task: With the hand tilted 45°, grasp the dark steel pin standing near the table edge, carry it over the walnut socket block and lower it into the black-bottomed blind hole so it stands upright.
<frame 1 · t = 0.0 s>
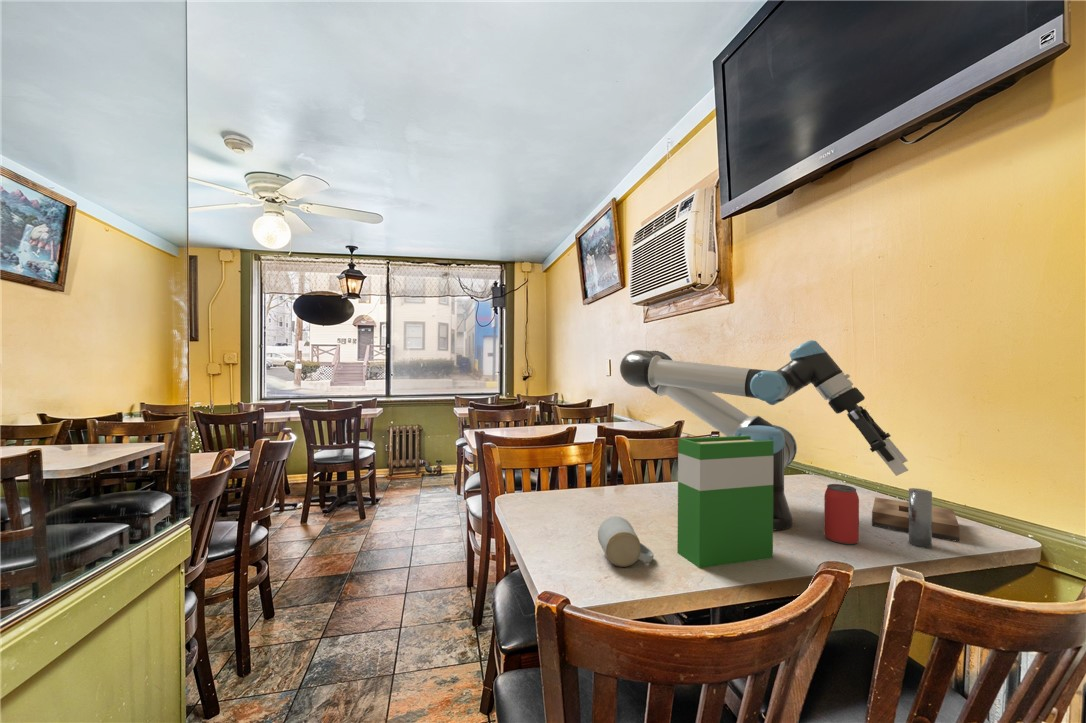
hand: (902, 468, 109), 15 cm above the table, tool tilted 35°, fingers open, 13 cm apart
cereal box: (724, 556, 94), on the table
socket block: (913, 524, 114), on the table
ceramic mug: (625, 560, 92), on the table
steel pin: (920, 544, 101), on the table
beer can: (841, 540, 103), on the table
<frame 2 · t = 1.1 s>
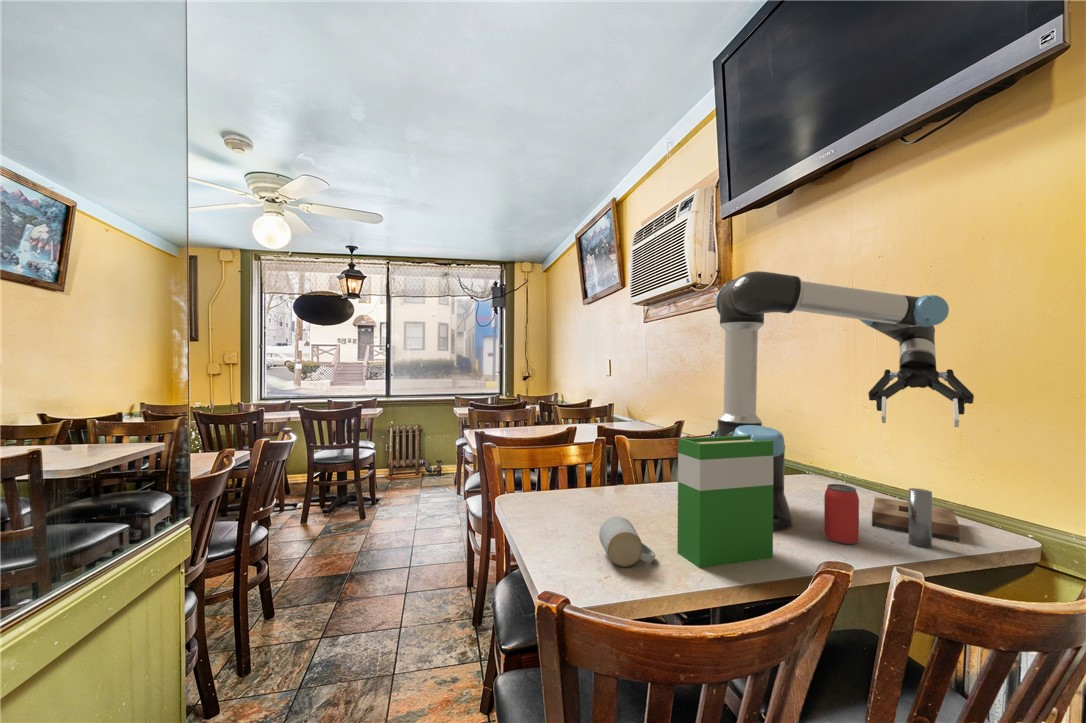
hand: (918, 421, 110), 26 cm above the table, tool tilted 45°, fingers open, 13 cm apart
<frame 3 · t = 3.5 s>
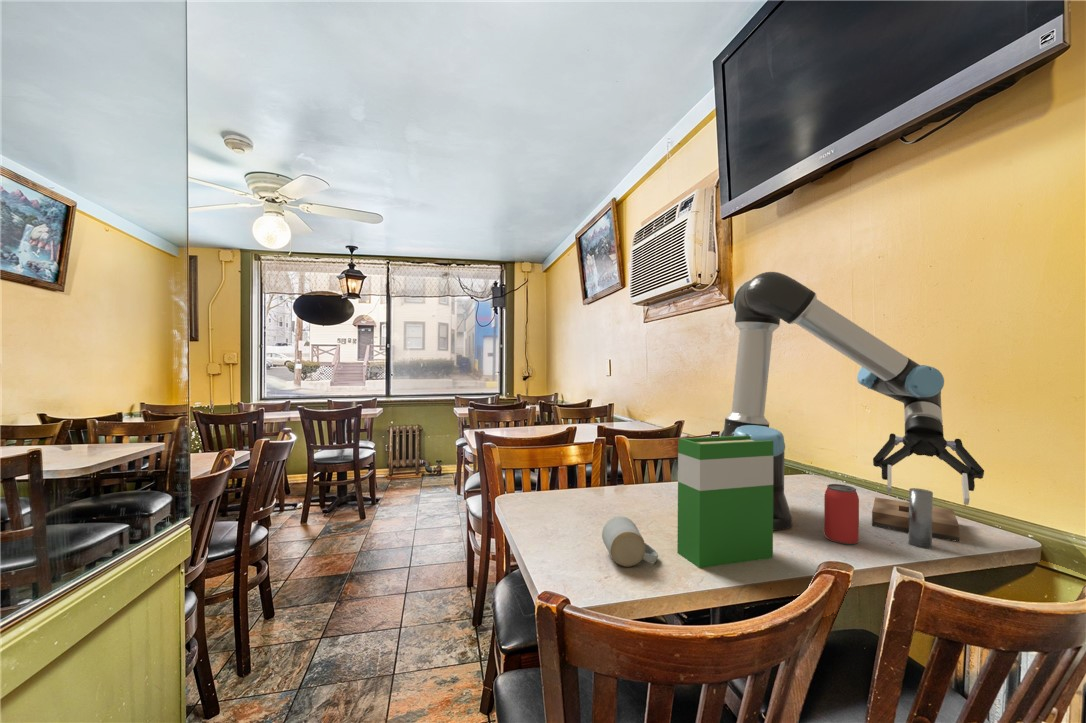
hand: (926, 496, 104), 10 cm above the table, tool tilted 45°, fingers open, 13 cm apart
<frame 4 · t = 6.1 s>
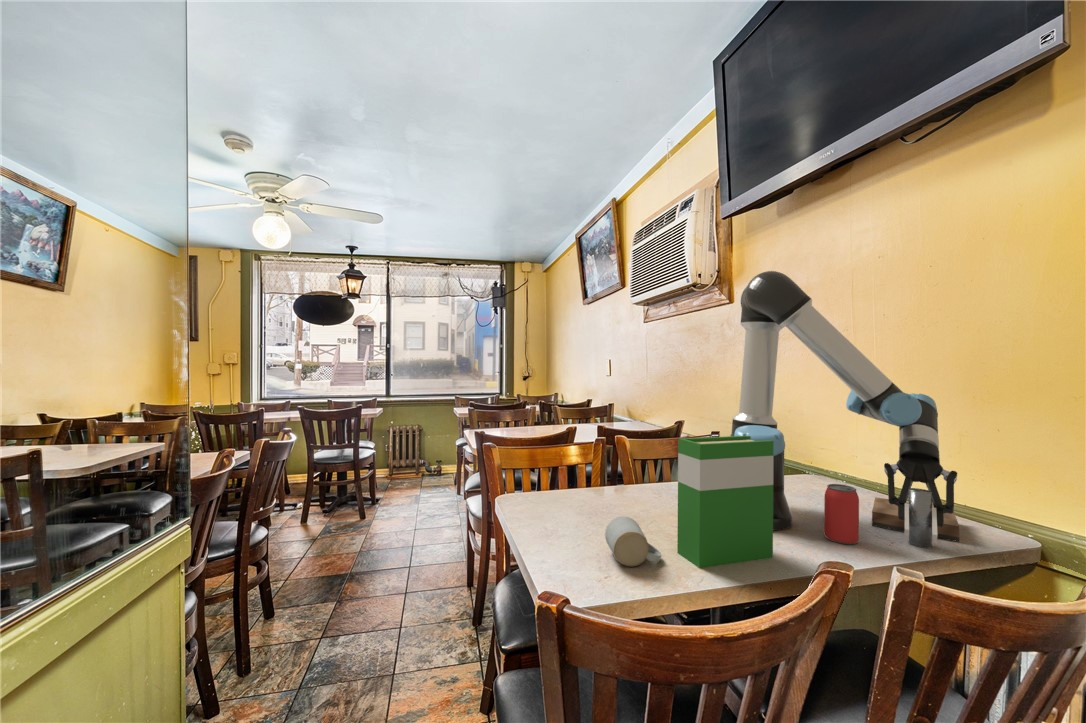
hand: (920, 535, 98), 3 cm above the table, tool tilted 45°, fingers closed on steel pin, 4 cm apart
steel pin: (920, 544, 101), on the table, touching gripper
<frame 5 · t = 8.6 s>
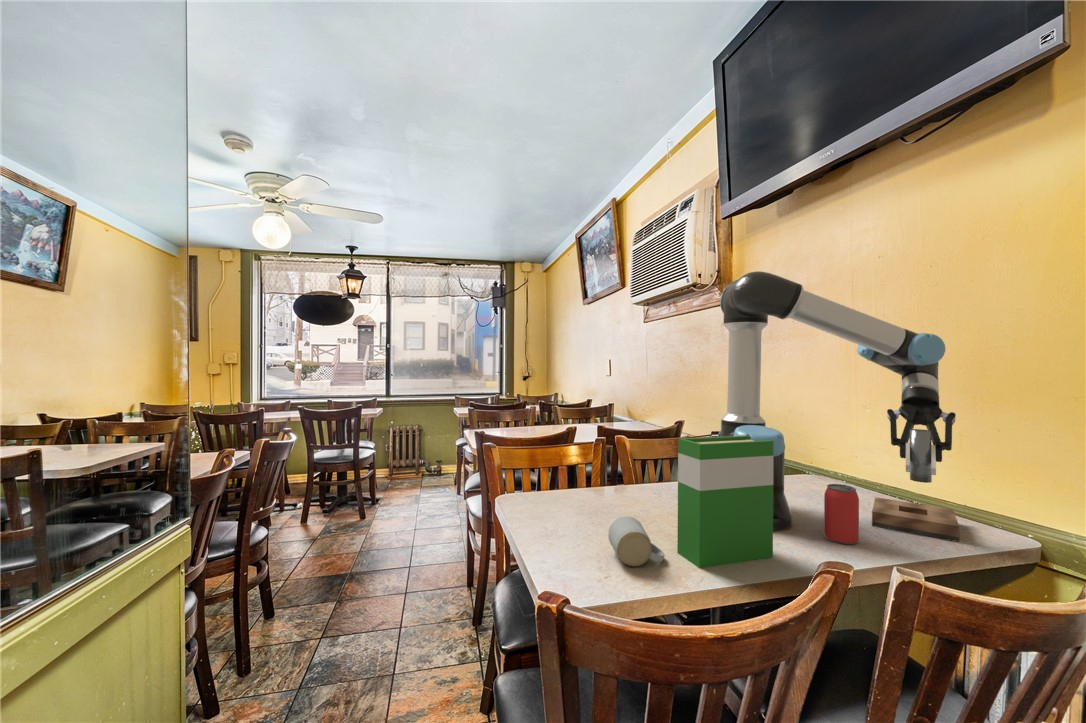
hand: (920, 470, 105), 16 cm above the table, tool tilted 45°, fingers closed on steel pin, 4 cm apart
steel pin: (920, 480, 108), point 12 cm above the table, touching gripper
when the fingers open (5 cm above the table, at t = 11.0 s): steel pin stays where it is, resting on socket block.
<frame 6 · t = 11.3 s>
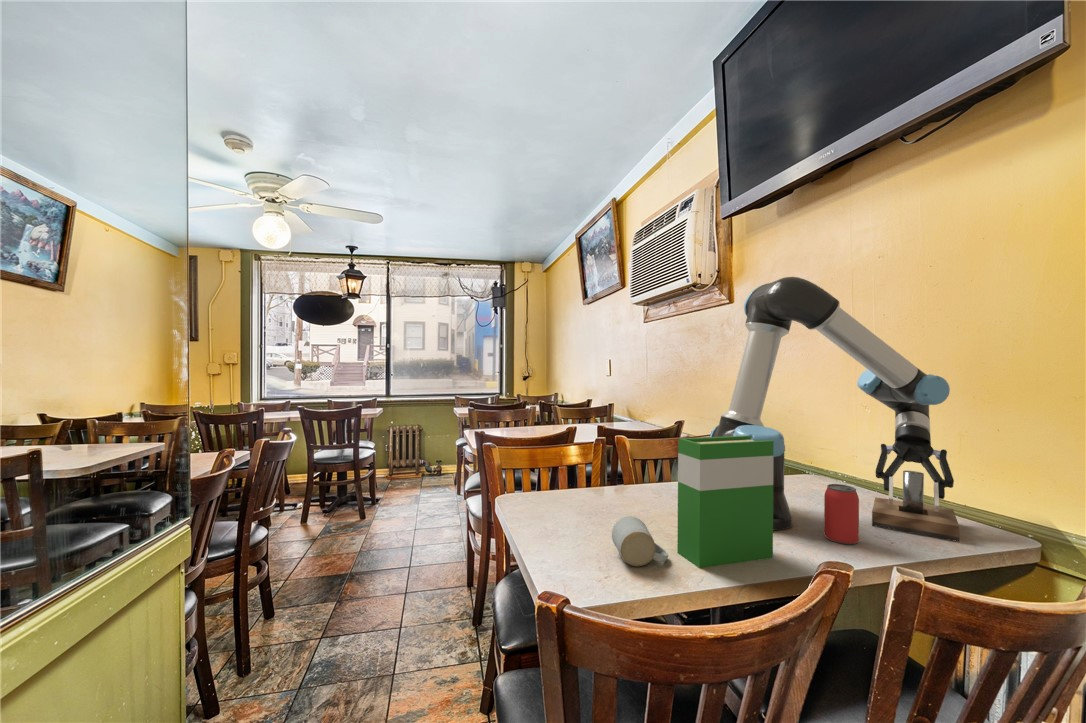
hand: (913, 504, 111), 6 cm above the table, tool tilted 45°, fingers open, 8 cm apart
steel pin: (912, 520, 114), point 1 cm above the table, touching socket block
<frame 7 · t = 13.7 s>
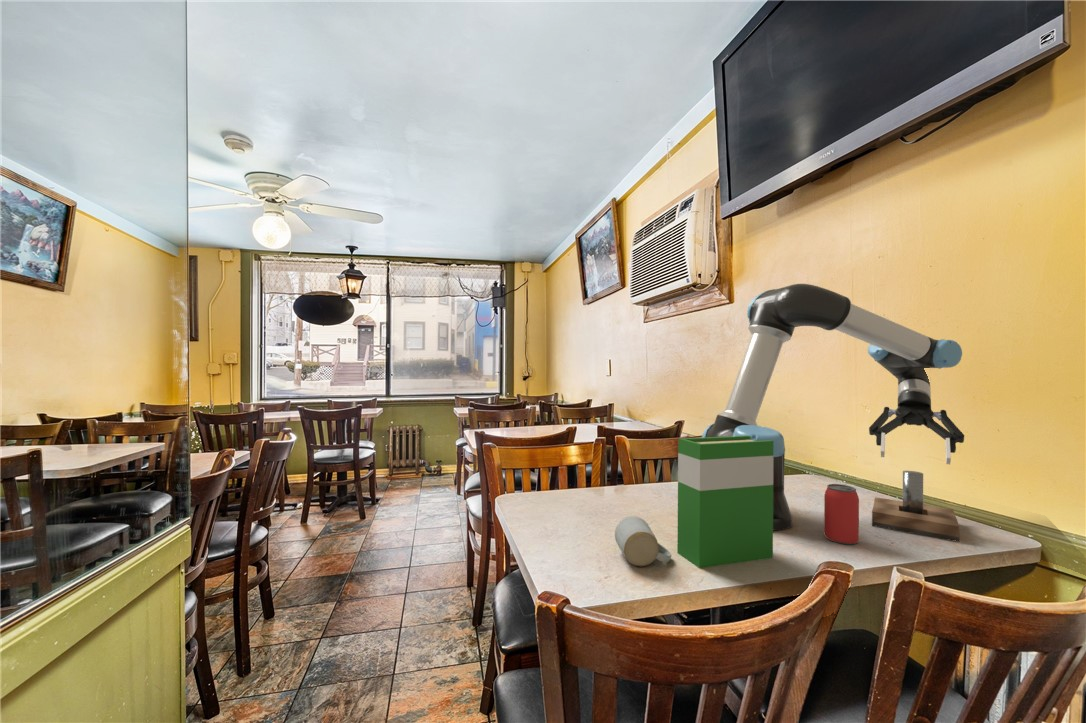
hand: (914, 457, 121), 15 cm above the table, tool tilted 45°, fingers open, 13 cm apart
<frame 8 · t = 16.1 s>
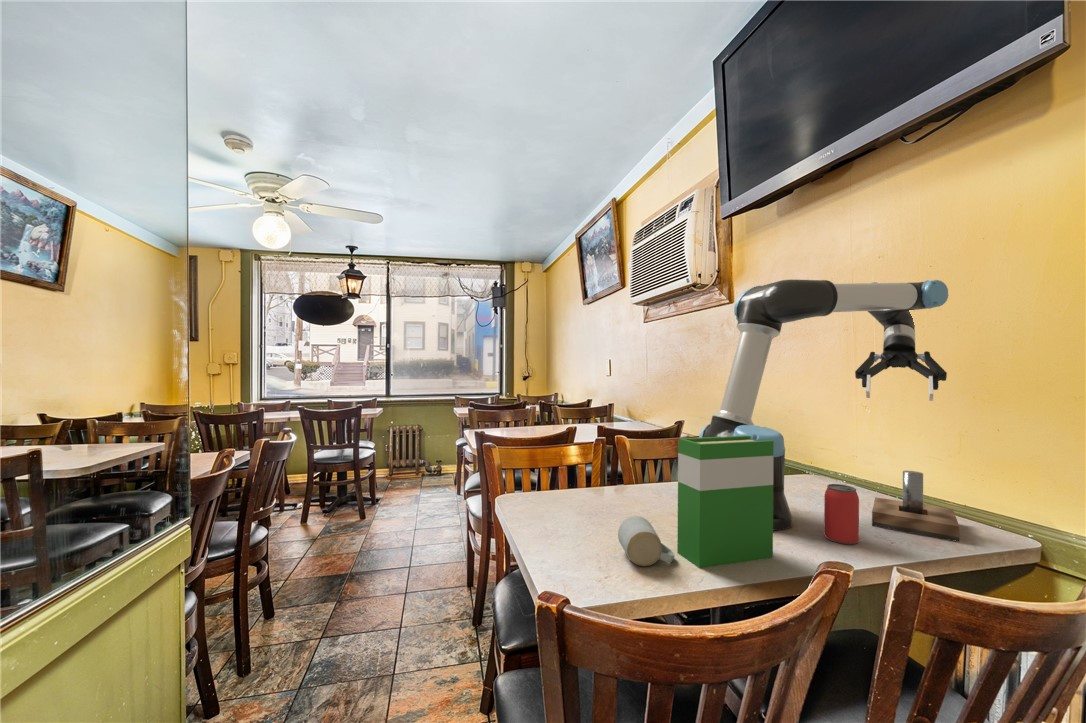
hand: (898, 396, 124), 32 cm above the table, tool tilted 45°, fingers open, 13 cm apart
at the end: steel pin 0.0 cm off-centre on the socket block, point 1.0 cm above the socket block's base; steel pin tilted 0°; the gripper is holding nothing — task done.
